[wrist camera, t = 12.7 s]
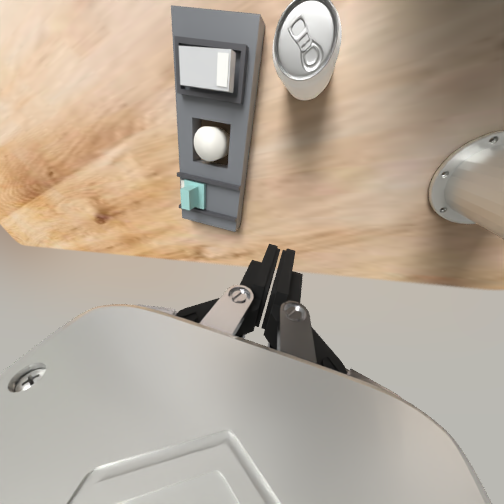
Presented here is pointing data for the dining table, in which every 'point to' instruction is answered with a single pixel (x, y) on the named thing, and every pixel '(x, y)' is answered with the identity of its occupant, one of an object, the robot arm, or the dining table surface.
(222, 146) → the push button
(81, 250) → the dining table surface
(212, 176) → the control panel
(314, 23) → the can
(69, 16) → the dining table surface
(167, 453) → the robot arm
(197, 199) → the teal slide switch
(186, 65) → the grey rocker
